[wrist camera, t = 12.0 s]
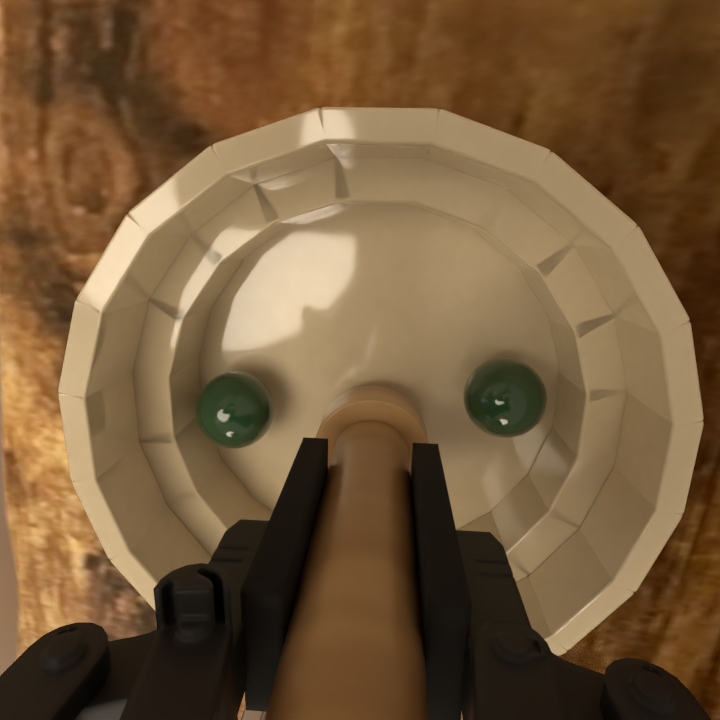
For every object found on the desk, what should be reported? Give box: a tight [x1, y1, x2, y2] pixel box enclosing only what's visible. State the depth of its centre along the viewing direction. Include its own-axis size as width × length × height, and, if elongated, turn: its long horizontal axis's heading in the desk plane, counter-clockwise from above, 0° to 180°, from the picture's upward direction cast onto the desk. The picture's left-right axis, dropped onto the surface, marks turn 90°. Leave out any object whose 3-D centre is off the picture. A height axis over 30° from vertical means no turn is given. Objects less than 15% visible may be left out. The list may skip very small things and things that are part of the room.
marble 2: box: [463, 358, 547, 438], centre depth 17 cm, size 3×3×3 cm
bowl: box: [58, 107, 704, 656], centre depth 17 cm, size 18×18×6 cm
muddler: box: [264, 386, 430, 720], centre depth 10 cm, size 4×4×17 cm
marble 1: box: [196, 371, 275, 449], centre depth 18 cm, size 3×3×3 cm
